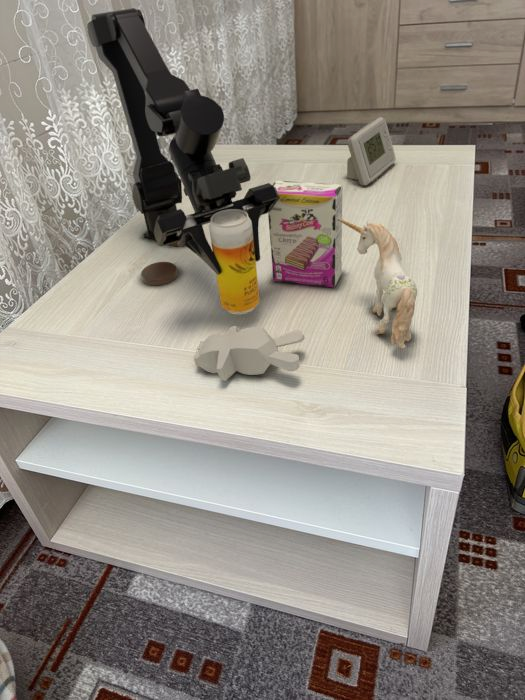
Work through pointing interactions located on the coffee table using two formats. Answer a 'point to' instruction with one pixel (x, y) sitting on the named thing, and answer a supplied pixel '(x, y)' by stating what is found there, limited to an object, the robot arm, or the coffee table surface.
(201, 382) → the coffee table surface
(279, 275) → the candy bar box
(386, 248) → the unicorn figurine
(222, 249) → the beer can
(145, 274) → the coaster near
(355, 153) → the digital clock
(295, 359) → the bunny figurine
